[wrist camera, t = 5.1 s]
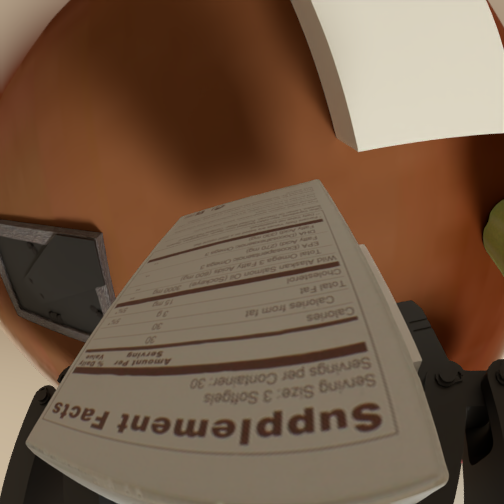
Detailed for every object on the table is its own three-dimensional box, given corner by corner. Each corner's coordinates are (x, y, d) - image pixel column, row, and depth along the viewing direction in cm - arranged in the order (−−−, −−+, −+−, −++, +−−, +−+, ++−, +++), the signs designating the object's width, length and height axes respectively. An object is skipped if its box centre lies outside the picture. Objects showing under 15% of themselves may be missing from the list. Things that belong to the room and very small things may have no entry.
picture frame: (105, 230, 23) (-9, 216, 24) (93, 240, 22) (-19, 222, 22) (131, 346, 31) (23, 309, 32) (125, 358, 30) (16, 317, 30)
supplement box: (344, 298, 16) (388, 524, 5) (224, 320, 17) (178, 527, 6) (322, 173, 12) (471, 482, 1) (176, 211, 14) (13, 447, 3)
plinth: (335, 137, 18) (358, 151, 12) (284, -13, 12) (284, -52, 7) (470, 119, 15) (518, 132, 10) (429, -16, 9) (466, -38, 4)
